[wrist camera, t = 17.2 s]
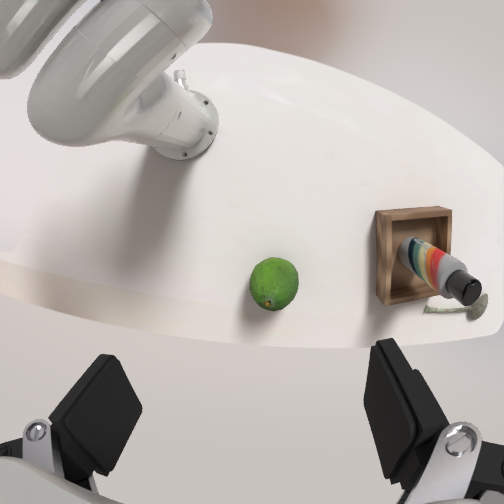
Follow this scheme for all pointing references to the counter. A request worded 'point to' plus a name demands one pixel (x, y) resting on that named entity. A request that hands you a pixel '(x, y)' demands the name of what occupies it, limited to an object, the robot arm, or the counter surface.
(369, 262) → the counter surface
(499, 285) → the counter surface
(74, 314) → the counter surface
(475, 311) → the soupspoon
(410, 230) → the walnut tray
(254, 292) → the avocado
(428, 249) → the lotion bottle
